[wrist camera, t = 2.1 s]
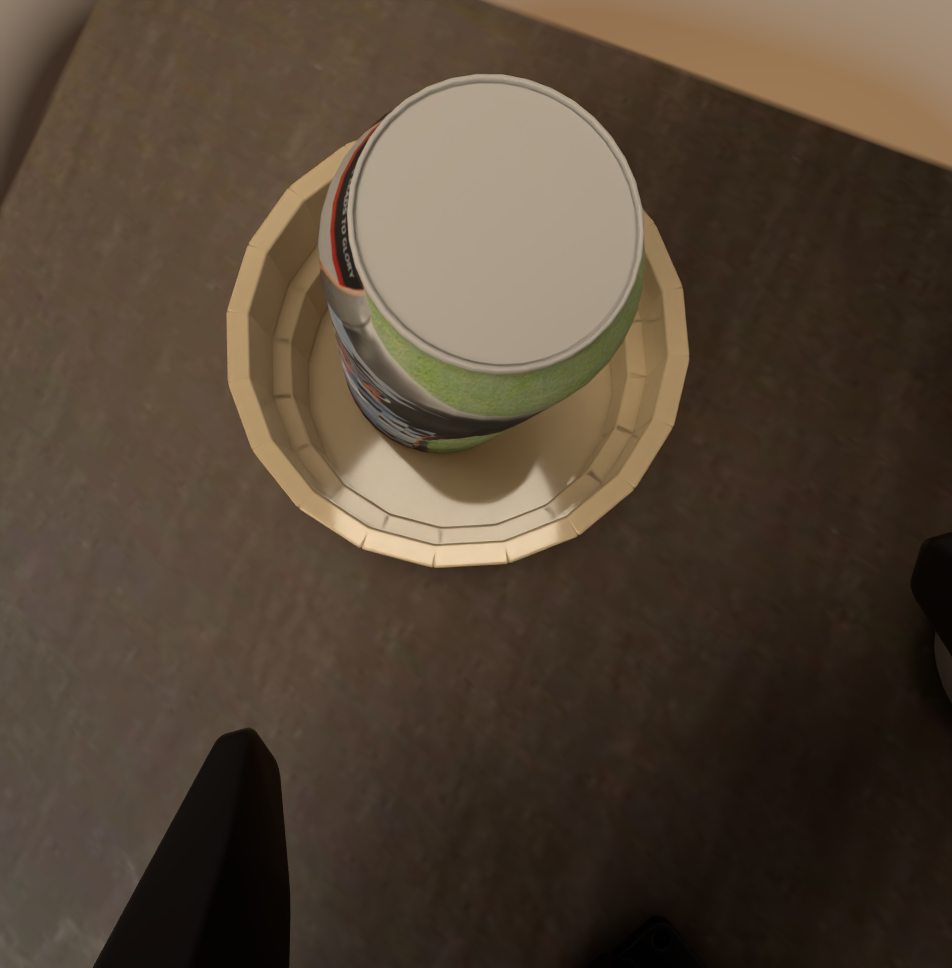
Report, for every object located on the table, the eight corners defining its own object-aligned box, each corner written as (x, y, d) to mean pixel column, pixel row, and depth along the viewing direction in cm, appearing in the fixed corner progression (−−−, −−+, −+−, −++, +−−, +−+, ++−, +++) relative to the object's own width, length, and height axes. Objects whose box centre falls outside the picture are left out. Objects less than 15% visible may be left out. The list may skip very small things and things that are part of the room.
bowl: (716, 407, 23) (783, 366, 18) (433, 642, 22) (422, 666, 17) (485, 141, 24) (489, 34, 19) (205, 356, 23) (133, 301, 18)
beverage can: (392, 253, 23) (312, -68, 11) (598, 331, 23) (736, 87, 11) (319, 425, 23) (154, 276, 11) (530, 507, 22) (601, 448, 11)
